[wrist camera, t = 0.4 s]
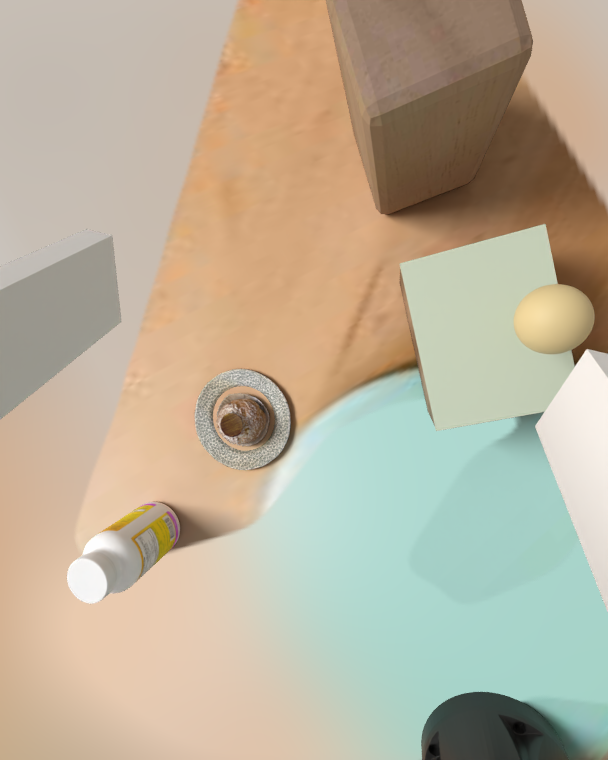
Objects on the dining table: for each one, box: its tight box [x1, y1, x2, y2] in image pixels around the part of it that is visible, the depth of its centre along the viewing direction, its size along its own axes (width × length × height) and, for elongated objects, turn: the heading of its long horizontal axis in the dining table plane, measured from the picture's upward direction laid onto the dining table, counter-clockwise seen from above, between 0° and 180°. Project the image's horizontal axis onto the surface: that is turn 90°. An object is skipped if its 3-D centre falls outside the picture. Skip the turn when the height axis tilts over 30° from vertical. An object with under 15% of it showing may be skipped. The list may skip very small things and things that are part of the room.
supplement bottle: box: [67, 502, 180, 603], centre depth 47 cm, size 7×7×13 cm
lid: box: [400, 224, 595, 431], centre depth 30 cm, size 14×11×9 cm
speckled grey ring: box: [195, 369, 291, 470], centre depth 48 cm, size 12×12×5 cm
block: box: [326, 0, 533, 214], centre depth 33 cm, size 10×10×20 cm
